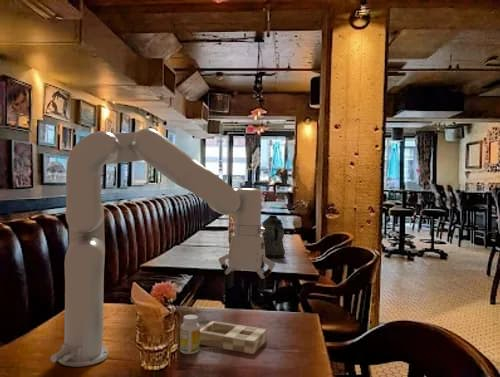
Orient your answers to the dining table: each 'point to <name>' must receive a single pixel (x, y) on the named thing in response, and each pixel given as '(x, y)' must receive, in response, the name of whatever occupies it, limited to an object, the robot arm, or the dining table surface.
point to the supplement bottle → (190, 335)
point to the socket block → (232, 336)
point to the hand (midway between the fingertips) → (245, 289)
